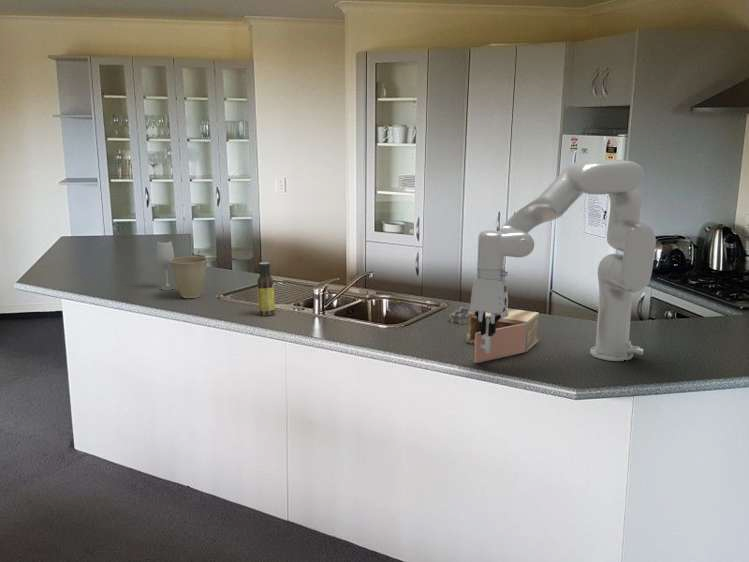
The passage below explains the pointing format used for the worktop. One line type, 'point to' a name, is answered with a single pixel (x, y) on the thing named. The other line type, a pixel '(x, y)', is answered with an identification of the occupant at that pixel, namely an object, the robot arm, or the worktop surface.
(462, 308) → the egg carton
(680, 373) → the worktop surface
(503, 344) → the door
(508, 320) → the cabinet
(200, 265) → the plant pot
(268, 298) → the sauce bottle
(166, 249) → the wineglass
